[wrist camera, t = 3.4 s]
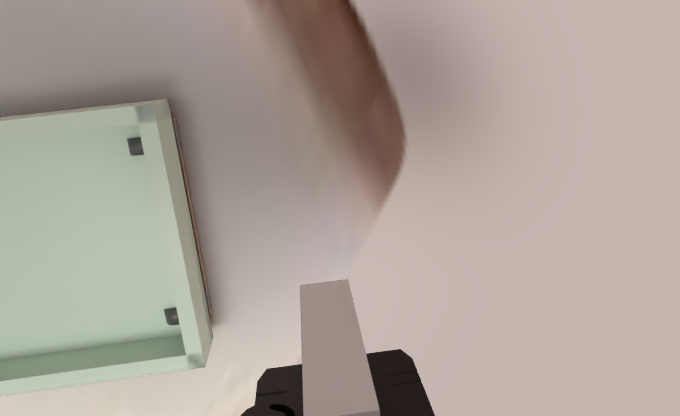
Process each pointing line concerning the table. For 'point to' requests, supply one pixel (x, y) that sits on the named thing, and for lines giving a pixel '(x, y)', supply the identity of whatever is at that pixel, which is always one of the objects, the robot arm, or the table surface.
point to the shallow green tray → (96, 249)
